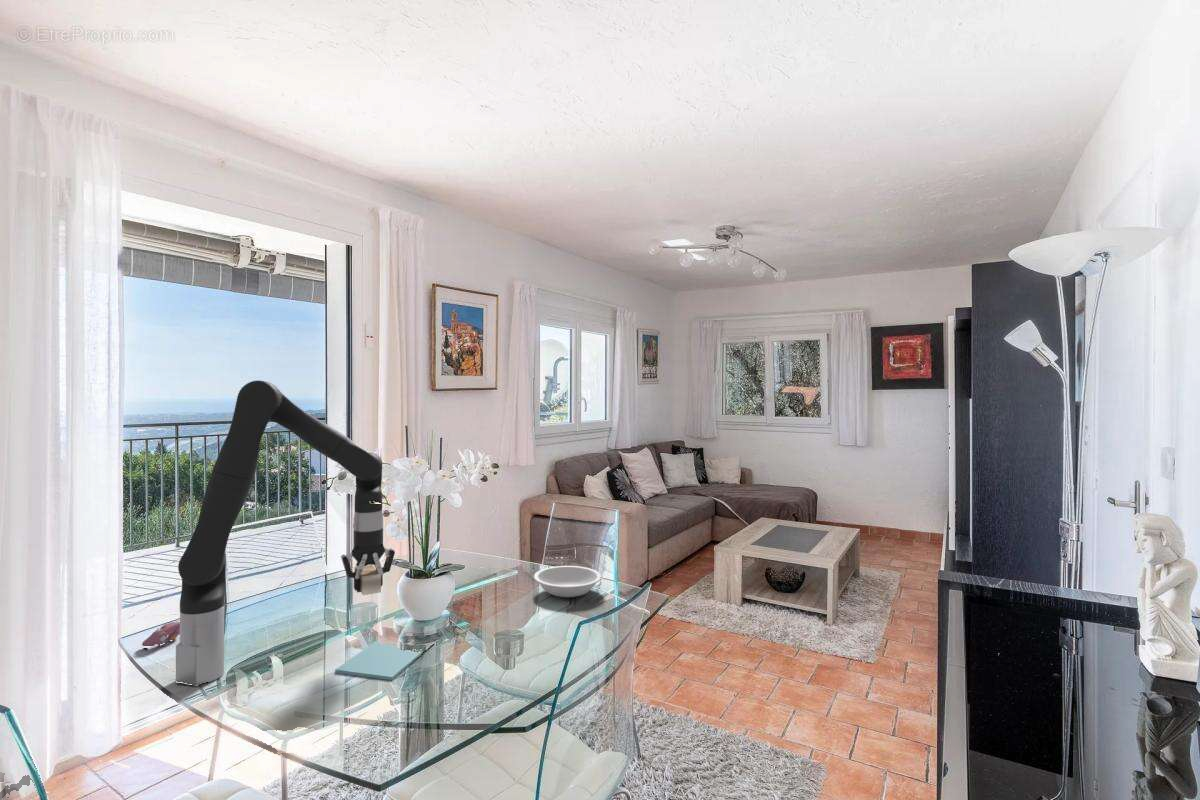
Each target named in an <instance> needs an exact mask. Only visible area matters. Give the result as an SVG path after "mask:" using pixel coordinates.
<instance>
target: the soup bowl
mask: <svg viewBox="0 0 1200 800" xmlns="http://www.w3.org/2000/svg"><path fill="white" fill-rule="evenodd" d="M533 579H534V581H535V582H537V583H538V584H539V585H540V587H541V588H542V589H543V591H545V592H546V593H547V594H549V595H553V596H555V597H558V598H574V597H575V598H576V597H580V596H583V595H585V594H587V593H589V592H591V590H592V589H593V588H594V587H595V586H596V584H597V583H599V582H600V581H601V580H602V574H601V572H599V571H598V570H596V569H593V568H589V567H585V566H581V565H557V566H550V567H546V568H545V567H544V568H542V569H540V570H538V571H536V572H535V573H534V575H533Z"/></svg>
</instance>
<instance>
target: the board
mask: <svg viewBox="0 0 1200 800" xmlns="http://www.w3.org/2000/svg"><path fill="white" fill-rule="evenodd" d="M422 652H423V651H422ZM422 652H420V651H419V652H418V653H417V652H414V651H411V650H405V651H403V650H400V648H398V647H395V646H394V645H393V644H388V643H383V644H381V643H380V642H378V641H377V640H375V641H374V642H371V644H370V645H369V646H366V648H364V649H363V650H362V651H360V652H358V653H356V654H355V655H354V656H352V657H351V658H350V659H348V660H346V661H345V662H344V663H342V664H341V665H339V666H338V667H337V668H335V670H334V673H335V674H343V675H351V676H356V677H357V676H359V677H365V678H366V677H367V678H374V679H380V680H388V681H393V680H394V679H395V678H397V677H398V676H399V675H401V674H402V672H403V671H405V670H406V669H407V668H409V667H410V666H411V665H412V664H413V663H414V662H415V661H416V660H415V659H416V658H417V657H418V656H419V655H420V654H421V653H422ZM414 660H415V661H414ZM413 661H414V662H413ZM412 662H413V663H412ZM411 663H412V664H411ZM410 664H411V665H410ZM409 665H410V666H409Z"/></svg>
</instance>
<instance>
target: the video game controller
mask: <svg viewBox="0 0 1200 800" xmlns="http://www.w3.org/2000/svg"><path fill="white" fill-rule="evenodd" d="M179 636H180V620H176V621H171V622H167V623H165V624H163V625H162V626H161V627H158V628H157V629H156V630H154V631H153V632H152V633H151V635H150V636H148V637H147V638H146V639H144V641H142V643H141V646H142V645H143V646H153V647H154V646H156V645H157V644H158V645H160V644H163V643H165V642H166V643H167V641H169V642H170V640H173V641H175V640H176V639H177V638H178V637H179ZM175 638H176V639H175ZM174 639H175V640H174ZM166 643H165V644H166ZM158 645H157V646H158Z"/></svg>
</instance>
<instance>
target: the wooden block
mask: <svg viewBox="0 0 1200 800" xmlns="http://www.w3.org/2000/svg"><path fill="white" fill-rule="evenodd" d="M359 593H361V594H362V596H369V595H373V594H380V593H382V586H381V575H380V574H379V573H378V572H377V570H376V568H375V566H374V565H370V564H369V565H367V566H364V568H363V570H362V572H361V575H360V592H359Z"/></svg>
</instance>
